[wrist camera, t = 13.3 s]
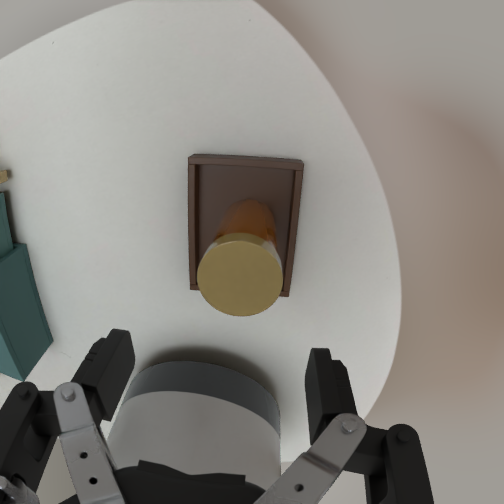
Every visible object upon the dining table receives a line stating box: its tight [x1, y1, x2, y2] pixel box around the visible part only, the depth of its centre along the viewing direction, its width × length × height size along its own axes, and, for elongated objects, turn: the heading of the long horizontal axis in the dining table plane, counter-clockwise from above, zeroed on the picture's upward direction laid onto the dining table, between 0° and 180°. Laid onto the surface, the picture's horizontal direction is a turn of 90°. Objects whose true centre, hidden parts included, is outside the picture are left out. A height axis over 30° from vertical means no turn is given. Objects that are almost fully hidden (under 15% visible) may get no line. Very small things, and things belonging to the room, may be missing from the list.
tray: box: [188, 154, 304, 297], centre depth 28 cm, size 12×9×2 cm
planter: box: [106, 361, 281, 491], centre depth 31 cm, size 19×19×18 cm
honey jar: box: [197, 199, 283, 316], centre depth 24 cm, size 5×5×10 cm
